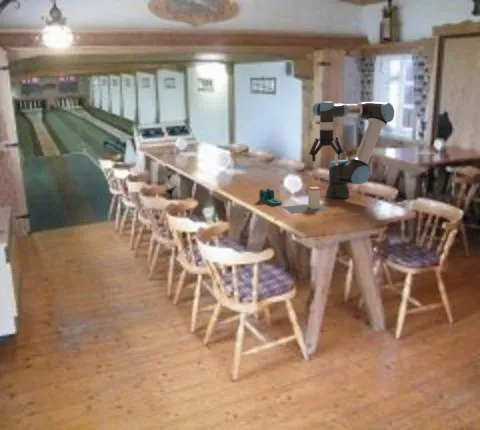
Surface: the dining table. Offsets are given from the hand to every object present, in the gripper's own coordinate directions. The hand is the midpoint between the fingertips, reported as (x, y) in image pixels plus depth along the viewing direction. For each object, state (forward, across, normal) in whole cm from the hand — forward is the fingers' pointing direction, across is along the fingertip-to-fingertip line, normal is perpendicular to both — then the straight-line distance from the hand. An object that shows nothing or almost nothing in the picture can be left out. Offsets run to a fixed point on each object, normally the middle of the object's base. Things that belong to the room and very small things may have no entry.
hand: (325, 166), depth 303 cm
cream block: (+24, +7, +1) cm, 25 cm away
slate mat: (+24, +14, +1) cm, 28 cm away
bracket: (+25, +26, -20) cm, 42 cm away
